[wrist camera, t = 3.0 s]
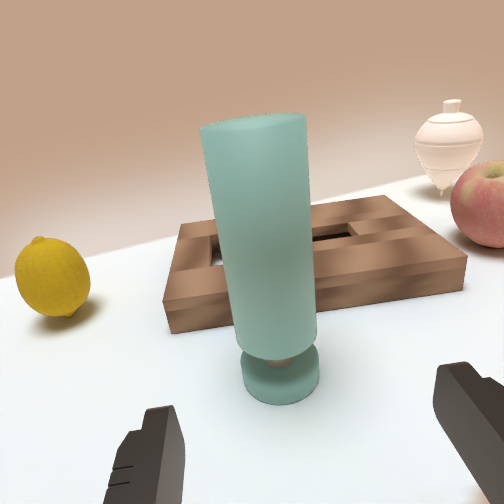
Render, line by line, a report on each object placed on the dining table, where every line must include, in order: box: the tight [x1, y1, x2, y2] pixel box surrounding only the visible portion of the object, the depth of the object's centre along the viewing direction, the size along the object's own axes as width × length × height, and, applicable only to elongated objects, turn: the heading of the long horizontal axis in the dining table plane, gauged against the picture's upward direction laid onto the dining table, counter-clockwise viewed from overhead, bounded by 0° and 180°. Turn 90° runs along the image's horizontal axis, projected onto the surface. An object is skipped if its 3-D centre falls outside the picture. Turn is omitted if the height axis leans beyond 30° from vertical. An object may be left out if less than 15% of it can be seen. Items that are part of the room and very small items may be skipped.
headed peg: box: [199, 113, 319, 405], centre depth 21 cm, size 5×5×16 cm
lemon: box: [15, 236, 90, 317], centre depth 32 cm, size 6×6×8 cm
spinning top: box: [414, 100, 484, 196], centre depth 46 cm, size 8×8×12 cm
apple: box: [450, 160, 504, 248], centre depth 35 cm, size 8×8×8 cm
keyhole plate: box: [162, 195, 468, 334], centre depth 36 cm, size 24×16×3 cm, turn 95°
